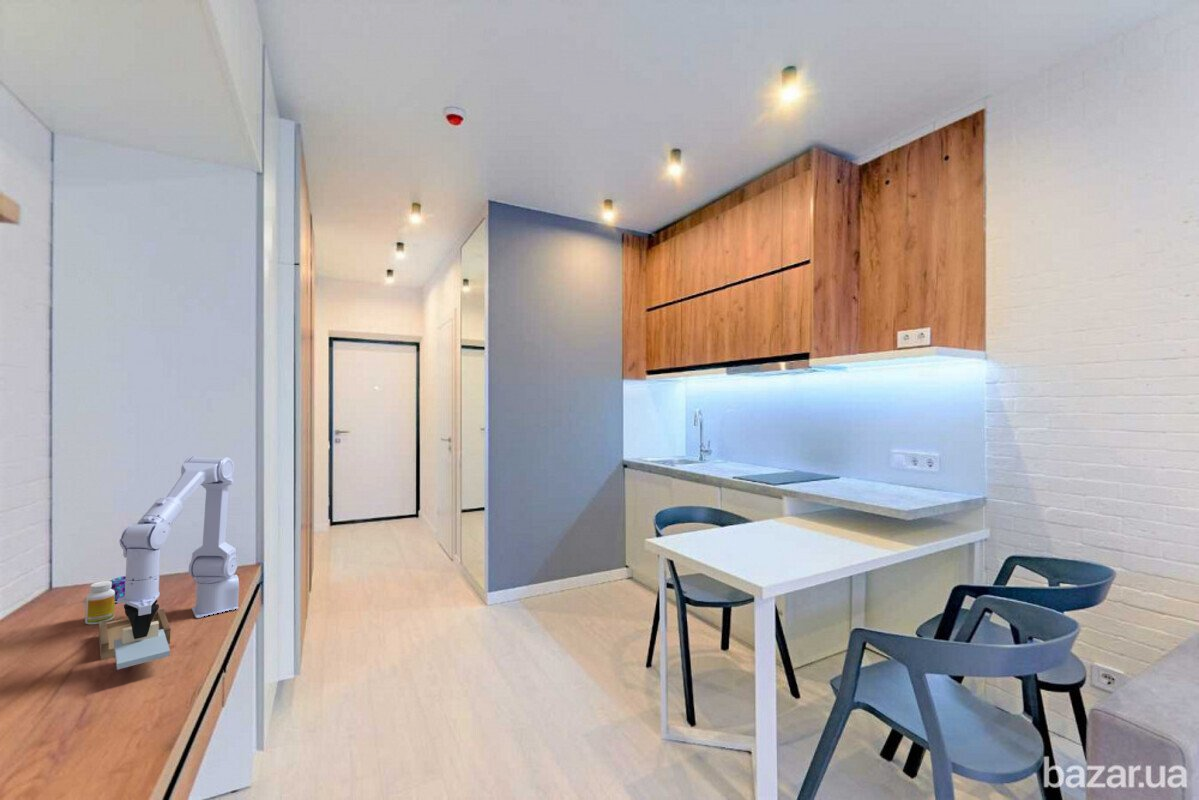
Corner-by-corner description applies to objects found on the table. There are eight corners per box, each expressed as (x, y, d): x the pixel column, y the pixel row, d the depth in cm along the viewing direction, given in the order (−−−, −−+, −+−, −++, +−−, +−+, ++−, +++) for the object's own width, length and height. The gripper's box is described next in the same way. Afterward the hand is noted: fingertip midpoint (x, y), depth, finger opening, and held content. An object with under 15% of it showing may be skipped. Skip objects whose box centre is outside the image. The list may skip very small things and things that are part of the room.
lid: (163, 633, 119) (163, 616, 119) (169, 655, 111) (170, 637, 110) (113, 645, 113) (114, 627, 113) (117, 669, 104) (117, 649, 104)
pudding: (122, 587, 152) (123, 570, 152) (160, 590, 152) (161, 572, 152) (80, 603, 140) (81, 585, 140) (122, 607, 140) (122, 588, 140)
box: (162, 622, 132) (163, 608, 132) (169, 643, 122) (170, 628, 122) (98, 636, 123) (99, 622, 123) (100, 660, 114) (101, 644, 114)
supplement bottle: (118, 618, 133) (119, 582, 132) (90, 627, 128) (92, 589, 128) (108, 614, 135) (109, 578, 135) (80, 621, 130) (82, 584, 130)
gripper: (116, 570, 116) (113, 629, 116) (120, 590, 106) (117, 654, 106) (156, 564, 121) (154, 620, 121) (164, 582, 111) (161, 643, 111)
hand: (140, 635), depth 114 cm, fingers closed on lid, 2 cm apart
